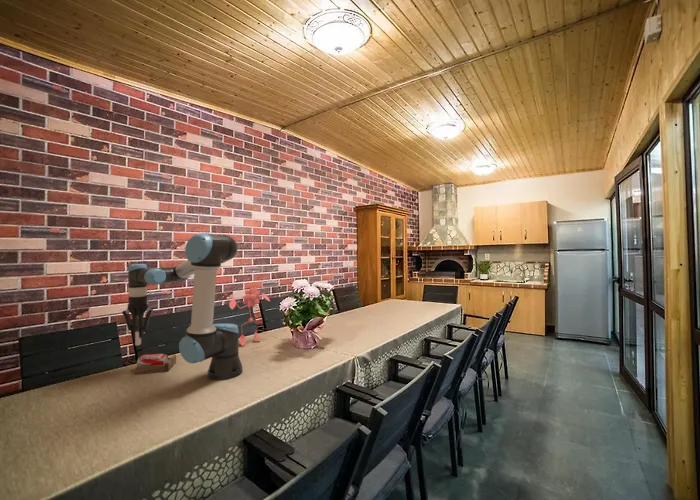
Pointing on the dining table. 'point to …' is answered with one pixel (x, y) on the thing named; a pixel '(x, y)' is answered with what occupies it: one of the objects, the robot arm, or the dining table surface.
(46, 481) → the dining table surface
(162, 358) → the soda can
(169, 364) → the u rest
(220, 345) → the robot arm
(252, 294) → the pink flower figure
